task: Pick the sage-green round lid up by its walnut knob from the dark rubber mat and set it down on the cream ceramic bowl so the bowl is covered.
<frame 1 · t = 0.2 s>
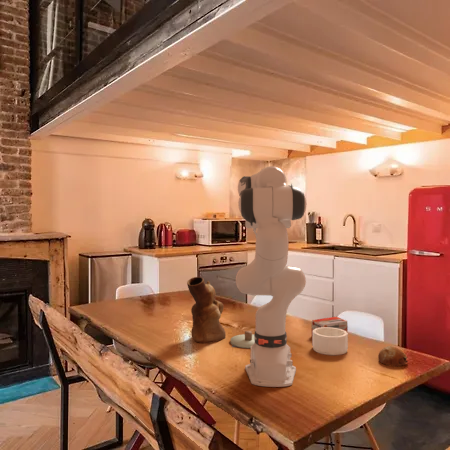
hand: (267, 238, 182), 47 cm above the table, tool pointing down, fingers open, 8 cm apart
medicine box: (329, 337, 192), on the table
brown rounded lump: (392, 362, 160), on the table
mat: (248, 343, 183), on the table
ceramic vessel: (204, 341, 187), on the table
bowl: (329, 349, 174), on the table
lid: (248, 342, 183), resting on mat
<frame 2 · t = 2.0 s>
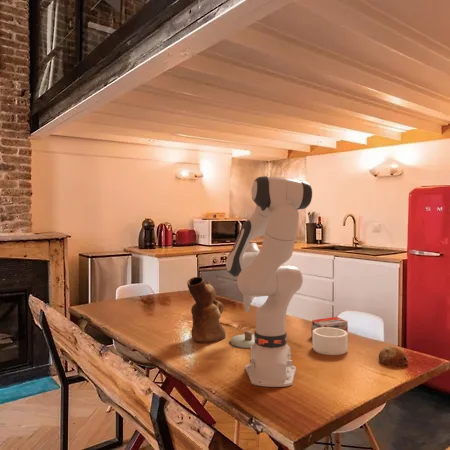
hand: (248, 308, 183), 15 cm above the table, tool pointing down, fingers open, 8 cm apart
nothing on the table moved.
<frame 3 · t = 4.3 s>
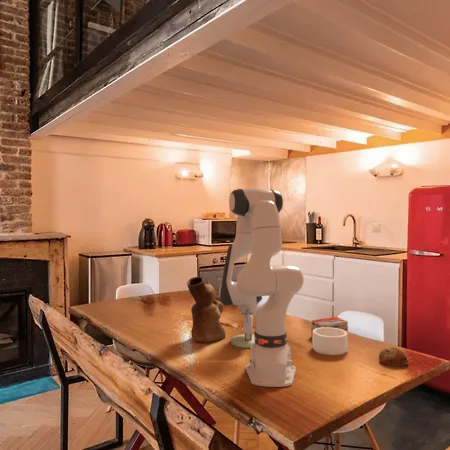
hand: (248, 337, 183), 2 cm above the table, tool pointing down, fingers closed on lid, 3 cm apart
lid: (248, 342, 183), resting on mat, touching gripper
everything else where it was.
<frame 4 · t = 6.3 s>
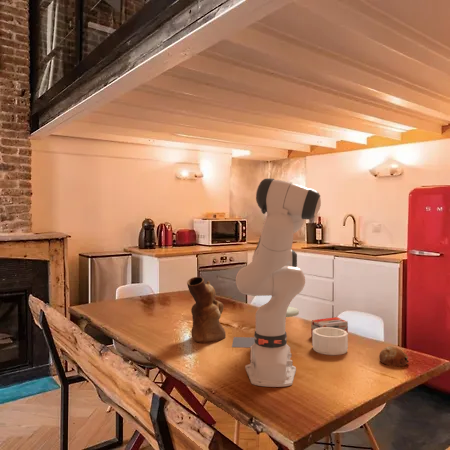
hand: (280, 307, 179), 17 cm above the table, tool pointing down, fingers closed on lid, 3 cm apart
lid: (280, 312, 179), point 15 cm above the table, touching gripper
everything else where it was.
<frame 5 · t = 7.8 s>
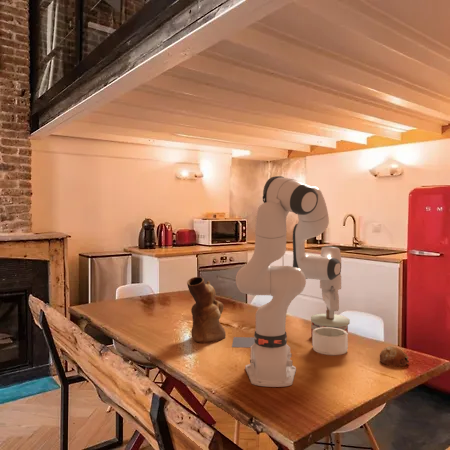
hand: (330, 316, 174), 14 cm above the table, tool pointing down, fingers closed on lid, 3 cm apart
lid: (330, 321, 174), point 12 cm above the table, touching gripper
everything else where it was.
when the fingers open (11 cm above the table, at t = 8.8 s): lid drops 1 cm, resting on bowl.
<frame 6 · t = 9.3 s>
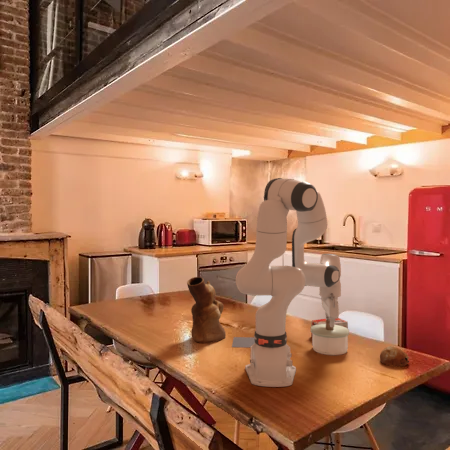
hand: (329, 323, 174), 11 cm above the table, tool pointing down, fingers open, 8 cm apart
lid: (329, 332, 174), point 7 cm above the table, touching bowl
everything else where it was.
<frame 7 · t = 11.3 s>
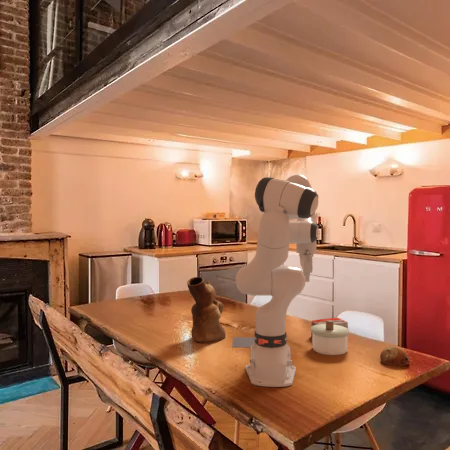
hand: (306, 279, 184), 28 cm above the table, tool pointing down, fingers open, 8 cm apart
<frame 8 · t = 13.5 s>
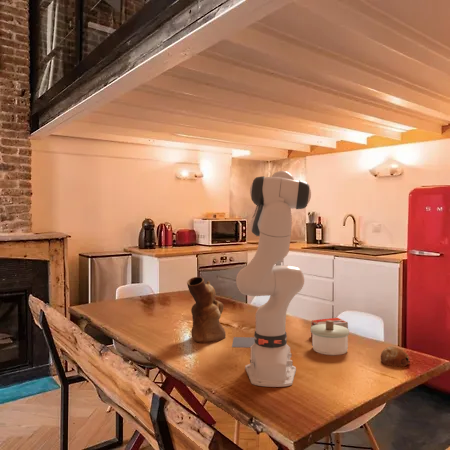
hand: (278, 269, 196), 31 cm above the table, tool pointing down, fingers open, 8 cm apart
at the end: lid 0.2 cm off-centre on the bowl, point 7.5 cm above the bowl's base; lid tilted 0°; the gripper is holding nothing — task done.
